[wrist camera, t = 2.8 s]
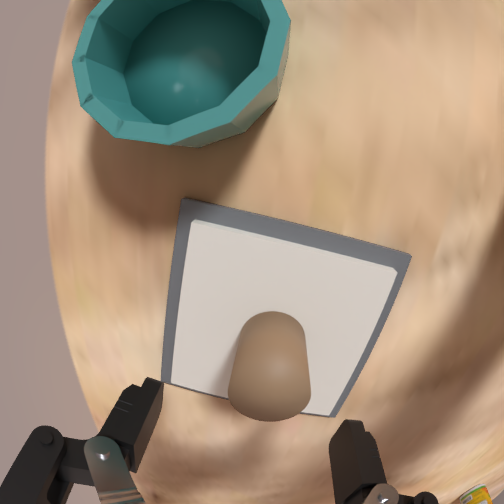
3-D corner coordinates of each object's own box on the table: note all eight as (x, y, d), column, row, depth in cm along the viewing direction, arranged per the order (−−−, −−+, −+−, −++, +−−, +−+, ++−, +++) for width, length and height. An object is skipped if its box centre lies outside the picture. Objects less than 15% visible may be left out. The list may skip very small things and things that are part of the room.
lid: (392, 267, 17) (433, 313, 11) (327, 408, 21) (335, 467, 15) (195, 219, 17) (156, 249, 11) (173, 376, 21) (148, 432, 15)
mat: (408, 253, 17) (411, 256, 17) (334, 413, 21) (334, 417, 21) (184, 197, 17) (181, 198, 17) (162, 377, 22) (160, 381, 21)
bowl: (299, 7, 13) (305, -37, 8) (263, 160, 16) (257, 161, 11) (145, -4, 13) (110, -37, 8) (106, 134, 16) (56, 132, 12)
